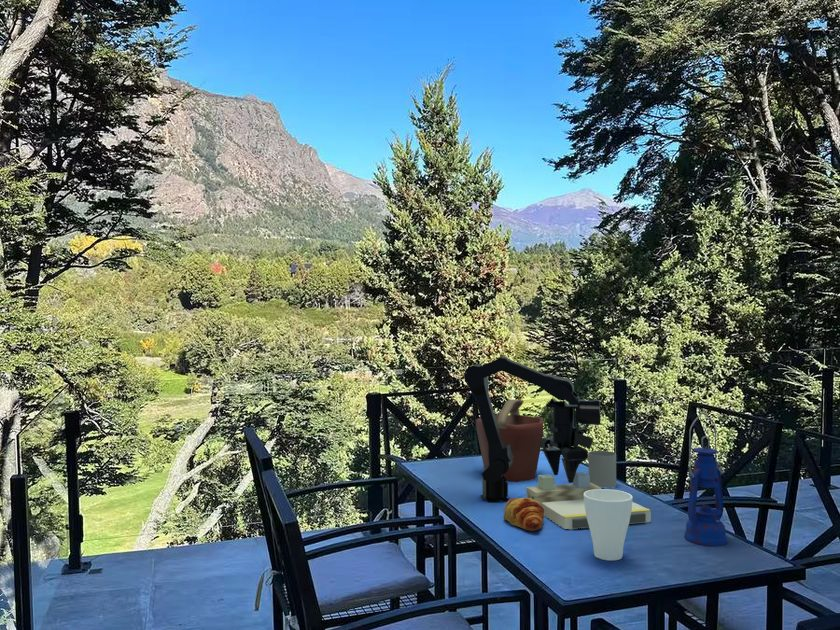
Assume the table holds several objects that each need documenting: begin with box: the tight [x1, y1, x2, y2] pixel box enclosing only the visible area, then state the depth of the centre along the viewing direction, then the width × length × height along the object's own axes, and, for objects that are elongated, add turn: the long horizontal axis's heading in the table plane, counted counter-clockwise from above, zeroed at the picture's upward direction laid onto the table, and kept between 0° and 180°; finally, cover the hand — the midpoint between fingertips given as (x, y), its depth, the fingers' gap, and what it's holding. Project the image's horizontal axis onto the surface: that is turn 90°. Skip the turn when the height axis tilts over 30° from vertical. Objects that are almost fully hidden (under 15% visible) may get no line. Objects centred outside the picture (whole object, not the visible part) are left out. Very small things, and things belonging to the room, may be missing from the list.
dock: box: [541, 499, 652, 530], centre depth 177 cm, size 24×15×3 cm, turn 104°
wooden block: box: [525, 483, 601, 504], centre depth 190 cm, size 20×6×5 cm, turn 104°
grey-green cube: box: [537, 473, 556, 491], centre depth 189 cm, size 4×4×4 cm
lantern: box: [683, 411, 729, 547], centre depth 160 cm, size 11×9×30 cm
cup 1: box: [588, 450, 617, 488], centre depth 211 cm, size 8×8×10 cm
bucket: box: [475, 399, 544, 483], centre depth 224 cm, size 24×22×25 cm
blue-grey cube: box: [572, 471, 590, 488], centre depth 192 cm, size 4×4×4 cm
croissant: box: [503, 497, 545, 532], centre depth 175 cm, size 21×10×8 cm, turn 10°
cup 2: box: [584, 488, 634, 562], centre depth 149 cm, size 10×10×14 cm
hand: (563, 478), depth 191 cm, fingers open, 9 cm apart
